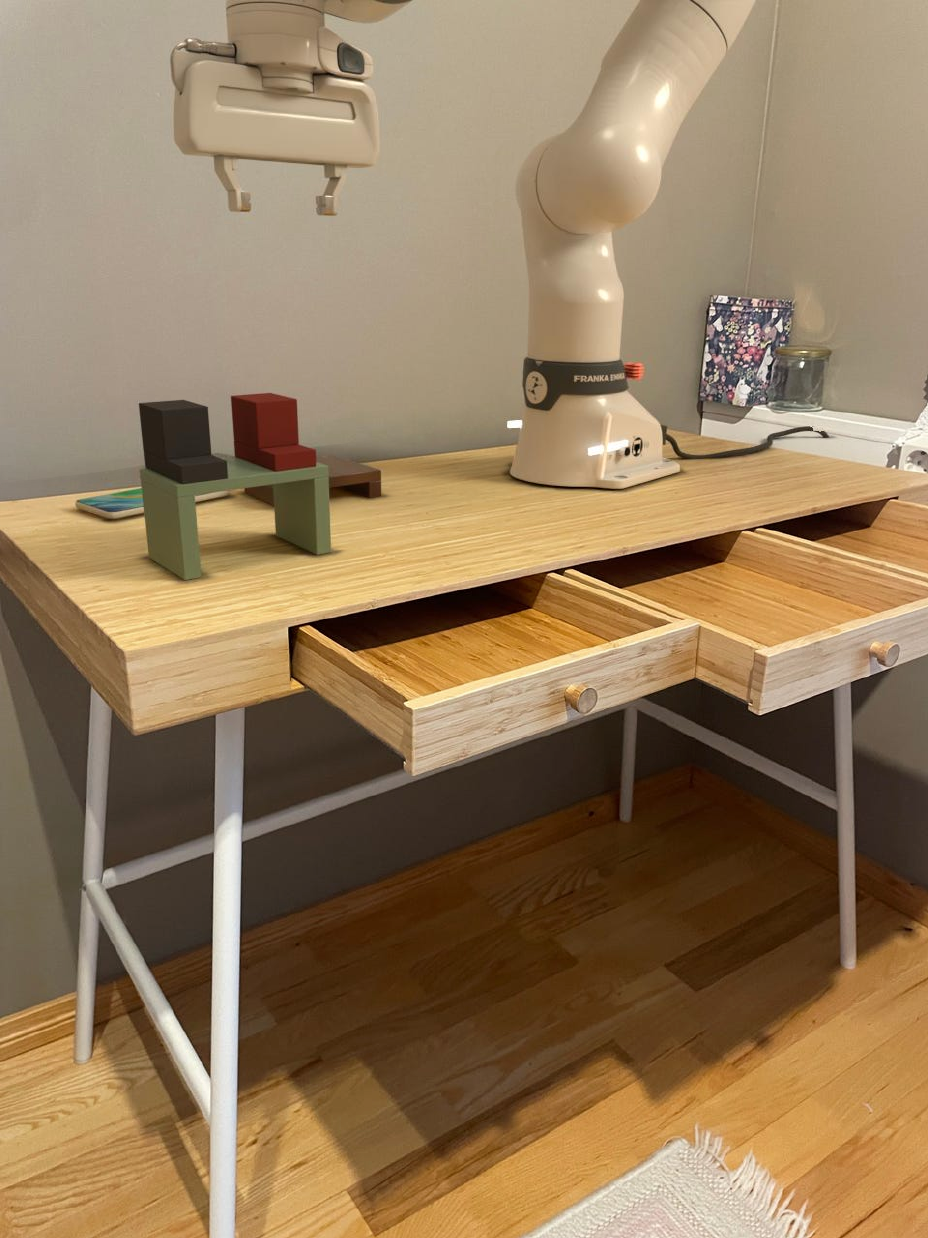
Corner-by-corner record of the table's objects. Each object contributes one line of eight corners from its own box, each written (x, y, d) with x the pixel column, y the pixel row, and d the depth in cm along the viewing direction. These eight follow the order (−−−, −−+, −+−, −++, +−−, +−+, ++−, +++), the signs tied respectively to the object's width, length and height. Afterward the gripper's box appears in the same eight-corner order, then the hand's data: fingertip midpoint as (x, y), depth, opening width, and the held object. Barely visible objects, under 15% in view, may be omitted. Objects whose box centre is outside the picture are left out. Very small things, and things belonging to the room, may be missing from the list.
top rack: (289, 533, 94) (285, 451, 91) (331, 552, 88) (328, 465, 85) (148, 557, 86) (139, 468, 83) (184, 580, 80) (176, 485, 77)
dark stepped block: (189, 462, 86) (183, 399, 84) (228, 478, 80) (223, 411, 78) (144, 467, 83) (138, 402, 82) (182, 484, 78) (175, 415, 76)
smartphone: (231, 488, 108) (110, 513, 97) (232, 496, 108) (111, 521, 97) (192, 477, 112) (71, 500, 101) (192, 485, 112) (72, 508, 101)
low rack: (335, 480, 117) (335, 455, 116) (381, 496, 109) (381, 469, 108) (244, 493, 110) (242, 466, 109) (286, 510, 102) (285, 482, 101)
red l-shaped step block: (274, 452, 91) (270, 392, 89) (316, 466, 85) (314, 403, 83) (234, 456, 88) (230, 395, 87) (275, 471, 83) (272, 406, 81)
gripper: (183, 28, 81) (196, 207, 86) (387, 60, 93) (389, 216, 97) (154, 39, 85) (168, 209, 90) (352, 69, 97) (356, 218, 102)
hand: (284, 213), depth 94 cm, fingers open, 8 cm apart
